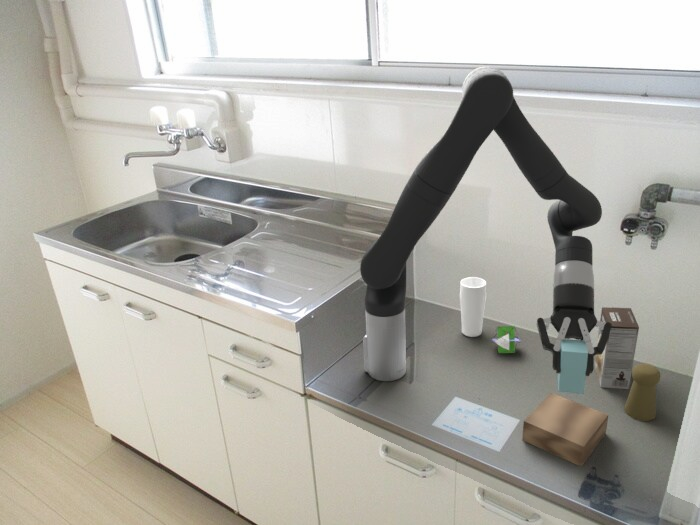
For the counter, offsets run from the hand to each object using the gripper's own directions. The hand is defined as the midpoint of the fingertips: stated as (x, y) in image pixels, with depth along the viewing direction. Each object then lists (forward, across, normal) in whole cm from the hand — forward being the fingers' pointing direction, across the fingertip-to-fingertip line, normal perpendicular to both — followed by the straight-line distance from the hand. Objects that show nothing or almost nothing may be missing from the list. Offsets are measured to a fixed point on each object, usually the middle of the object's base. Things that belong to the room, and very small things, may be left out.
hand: (572, 373), depth 111 cm
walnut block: (+10, 0, +13) cm, 17 cm away
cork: (+3, +15, +21) cm, 26 cm away
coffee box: (-6, +11, +30) cm, 32 cm away
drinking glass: (-17, -22, +40) cm, 49 cm away
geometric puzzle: (-12, -13, +35) cm, 39 cm away
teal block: (+2, 0, +4) cm, 5 cm away
